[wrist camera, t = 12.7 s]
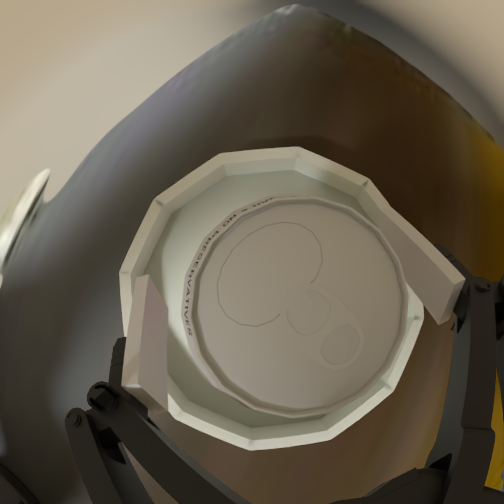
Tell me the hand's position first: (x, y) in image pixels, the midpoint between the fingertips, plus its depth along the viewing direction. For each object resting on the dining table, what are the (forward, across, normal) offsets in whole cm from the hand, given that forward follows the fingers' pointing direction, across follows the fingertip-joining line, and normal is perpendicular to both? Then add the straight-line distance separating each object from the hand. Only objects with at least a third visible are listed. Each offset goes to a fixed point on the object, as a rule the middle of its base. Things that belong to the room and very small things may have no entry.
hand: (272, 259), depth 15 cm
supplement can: (+4, 0, -8) cm, 9 cm away
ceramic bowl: (+5, 0, -8) cm, 9 cm away
